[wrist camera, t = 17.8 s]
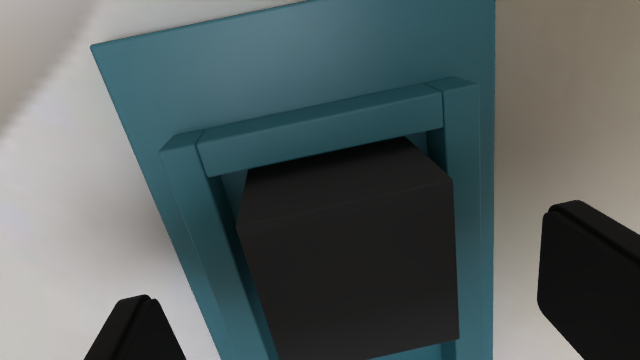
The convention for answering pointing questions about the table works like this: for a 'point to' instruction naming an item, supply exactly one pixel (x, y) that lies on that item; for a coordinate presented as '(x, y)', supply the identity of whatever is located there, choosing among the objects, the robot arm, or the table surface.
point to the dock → (309, 132)
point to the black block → (353, 251)
